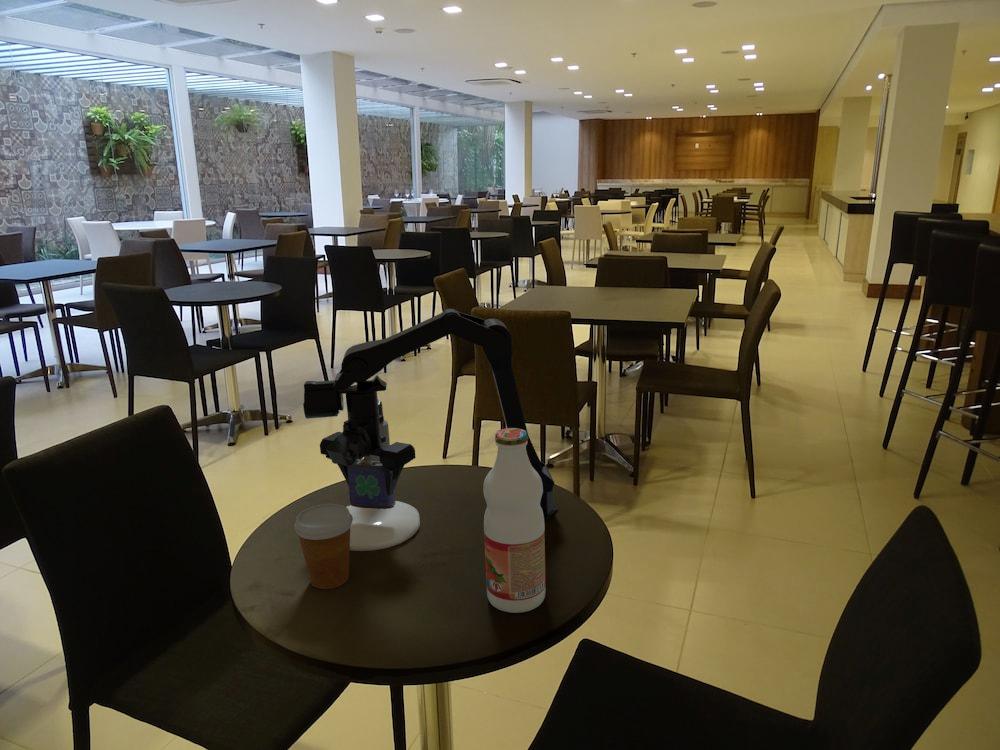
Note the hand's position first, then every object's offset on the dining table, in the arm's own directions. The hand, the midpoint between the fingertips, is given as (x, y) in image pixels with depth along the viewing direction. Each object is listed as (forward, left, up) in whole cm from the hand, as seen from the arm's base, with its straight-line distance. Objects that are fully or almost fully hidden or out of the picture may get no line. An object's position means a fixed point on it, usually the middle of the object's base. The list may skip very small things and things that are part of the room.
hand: (370, 490), depth 137 cm
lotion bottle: (+10, -15, -8) cm, 20 cm away
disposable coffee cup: (-5, +18, -8) cm, 20 cm away
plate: (0, 0, -8) cm, 8 cm away
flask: (0, 0, -3) cm, 3 cm away
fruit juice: (-36, +9, -8) cm, 38 cm away
